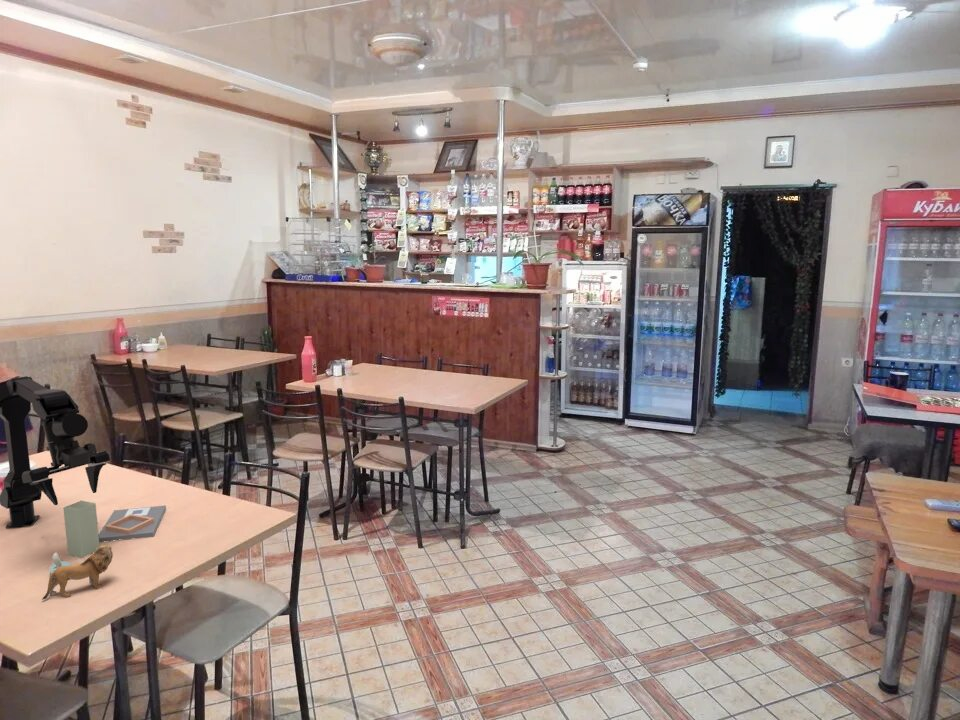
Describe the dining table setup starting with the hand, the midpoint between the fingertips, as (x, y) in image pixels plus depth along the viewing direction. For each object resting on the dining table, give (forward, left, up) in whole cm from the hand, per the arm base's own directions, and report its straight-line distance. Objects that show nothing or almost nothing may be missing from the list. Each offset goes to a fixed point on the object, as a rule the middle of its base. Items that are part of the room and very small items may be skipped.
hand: (76, 498), depth 159 cm
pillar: (-1, 0, -15) cm, 15 cm away
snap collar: (-12, +9, -14) cm, 21 cm away
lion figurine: (+19, +5, -15) cm, 25 cm away
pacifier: (+11, -1, -16) cm, 19 cm away
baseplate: (-16, +9, -15) cm, 24 cm away
